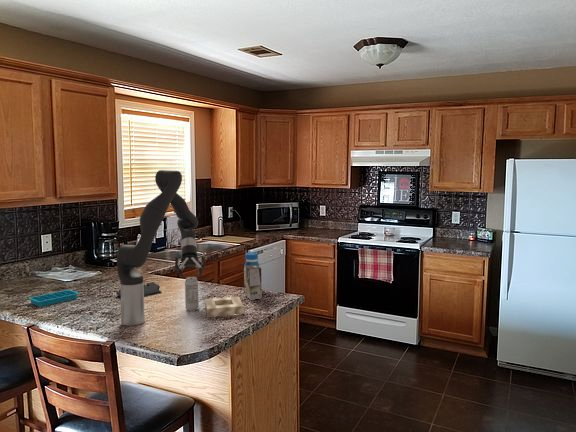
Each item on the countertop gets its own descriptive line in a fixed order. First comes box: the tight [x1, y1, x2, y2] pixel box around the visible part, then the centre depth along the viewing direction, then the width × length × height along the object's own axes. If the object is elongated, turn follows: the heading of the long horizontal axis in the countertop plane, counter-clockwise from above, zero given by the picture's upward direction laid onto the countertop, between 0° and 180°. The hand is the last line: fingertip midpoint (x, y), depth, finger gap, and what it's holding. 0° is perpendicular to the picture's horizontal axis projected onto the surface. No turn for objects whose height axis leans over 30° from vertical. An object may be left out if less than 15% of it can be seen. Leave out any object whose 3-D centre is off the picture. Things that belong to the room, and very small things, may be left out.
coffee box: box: [244, 265, 263, 301], centre depth 228 cm, size 9×6×16 cm
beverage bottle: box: [243, 251, 260, 291], centre depth 243 cm, size 8×8×20 cm
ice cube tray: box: [28, 289, 80, 307], centre depth 225 cm, size 12×20×3 cm, turn 142°
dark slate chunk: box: [115, 281, 163, 298], centre depth 237 cm, size 15×22×5 cm
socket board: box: [204, 296, 245, 318], centre depth 207 cm, size 16×16×4 cm
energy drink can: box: [184, 276, 200, 312], centre depth 208 cm, size 6×6×15 cm
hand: (190, 276), depth 215 cm, fingers open, 8 cm apart
